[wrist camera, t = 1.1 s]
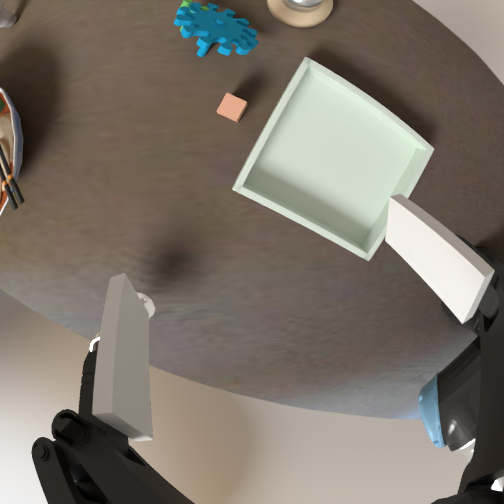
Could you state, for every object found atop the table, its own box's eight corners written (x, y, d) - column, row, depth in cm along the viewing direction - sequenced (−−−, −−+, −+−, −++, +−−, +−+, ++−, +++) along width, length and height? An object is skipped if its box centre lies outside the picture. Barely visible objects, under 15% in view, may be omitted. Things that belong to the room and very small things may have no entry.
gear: (277, 42, 26) (216, 53, 21) (251, 71, 31) (193, 91, 26) (220, -7, 24) (155, -2, 19) (202, 23, 29) (141, 36, 24)
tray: (420, 146, 32) (434, 148, 29) (359, 250, 38) (368, 261, 35) (300, 63, 28) (305, 56, 25) (233, 184, 35) (232, 189, 31)
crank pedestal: (338, 0, 24) (342, -6, 22) (313, 38, 27) (317, 33, 25) (283, -26, 22) (285, -33, 21) (255, 11, 25) (256, 5, 23)
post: (247, 105, 31) (247, 101, 27) (238, 122, 31) (236, 121, 28) (229, 97, 30) (226, 92, 26) (220, 114, 31) (216, 111, 27)
